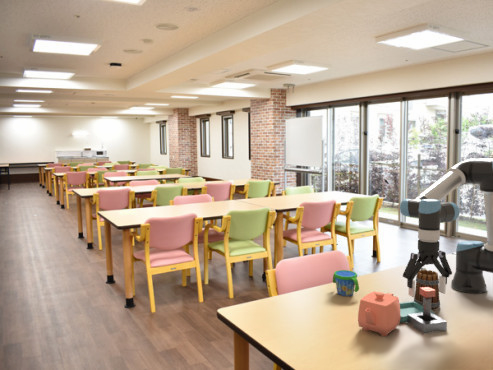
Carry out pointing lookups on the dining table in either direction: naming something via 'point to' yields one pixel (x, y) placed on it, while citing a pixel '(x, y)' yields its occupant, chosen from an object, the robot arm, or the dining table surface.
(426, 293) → the rod with pink block
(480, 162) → the robot arm
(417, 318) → the eye block
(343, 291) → the snack cup
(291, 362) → the dining table surface
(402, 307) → the tray
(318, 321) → the dining table surface
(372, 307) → the teapot
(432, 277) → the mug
